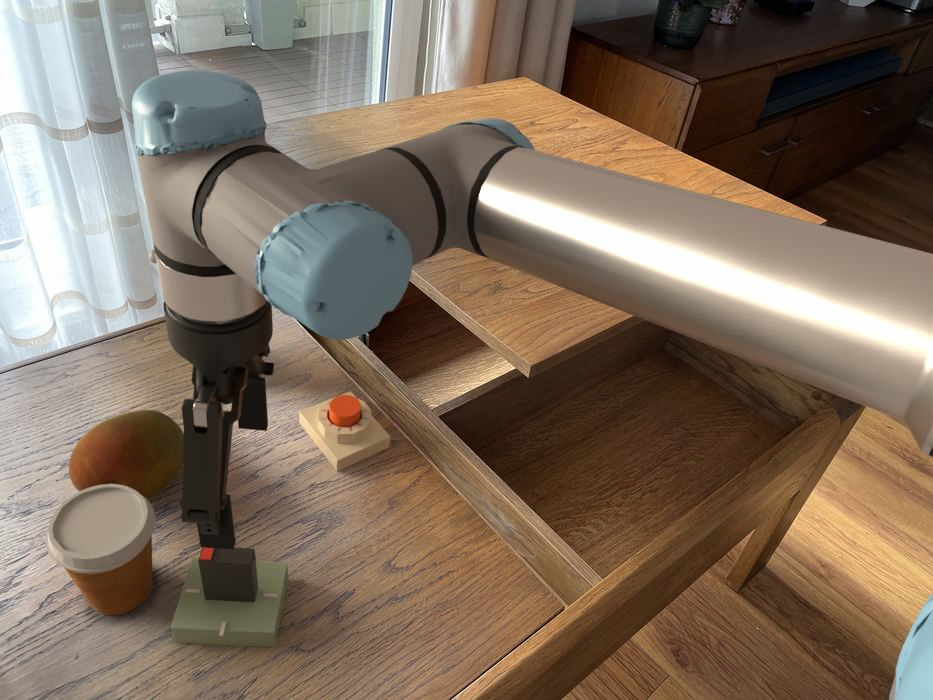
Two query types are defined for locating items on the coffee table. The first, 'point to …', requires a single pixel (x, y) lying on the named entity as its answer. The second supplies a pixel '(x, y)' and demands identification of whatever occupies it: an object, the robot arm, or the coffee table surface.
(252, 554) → the dial knob
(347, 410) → the switch button
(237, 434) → the coffee table surface
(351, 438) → the switch base
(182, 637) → the dial base
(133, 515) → the disposable coffee cup
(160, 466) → the fruit
